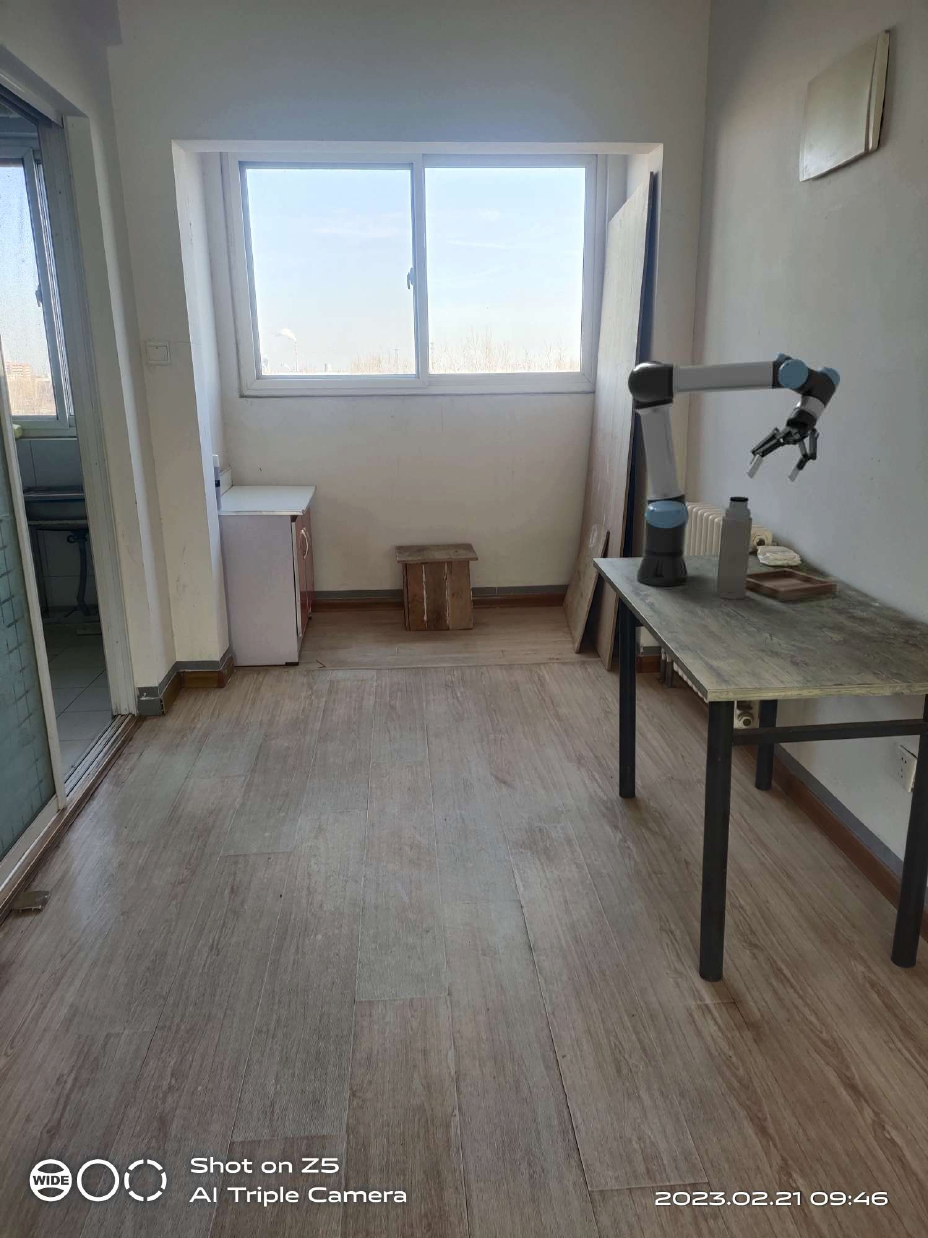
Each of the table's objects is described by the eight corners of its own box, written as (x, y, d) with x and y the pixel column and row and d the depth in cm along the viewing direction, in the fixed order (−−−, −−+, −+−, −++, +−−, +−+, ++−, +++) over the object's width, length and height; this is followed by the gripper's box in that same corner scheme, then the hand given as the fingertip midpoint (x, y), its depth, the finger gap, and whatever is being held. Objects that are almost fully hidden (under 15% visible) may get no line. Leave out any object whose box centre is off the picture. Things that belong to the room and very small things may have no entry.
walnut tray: (732, 584, 249) (733, 574, 248) (785, 577, 256) (786, 568, 255) (780, 601, 231) (781, 591, 231) (835, 593, 239) (836, 583, 238)
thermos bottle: (712, 596, 238) (719, 498, 229) (721, 589, 244) (729, 494, 235) (739, 600, 233) (748, 500, 225) (749, 594, 239) (758, 496, 231)
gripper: (850, 425, 230) (814, 488, 227) (773, 424, 250) (739, 482, 247) (839, 407, 226) (803, 471, 222) (762, 408, 246) (727, 466, 243)
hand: (769, 476), depth 235 cm, fingers open, 13 cm apart
